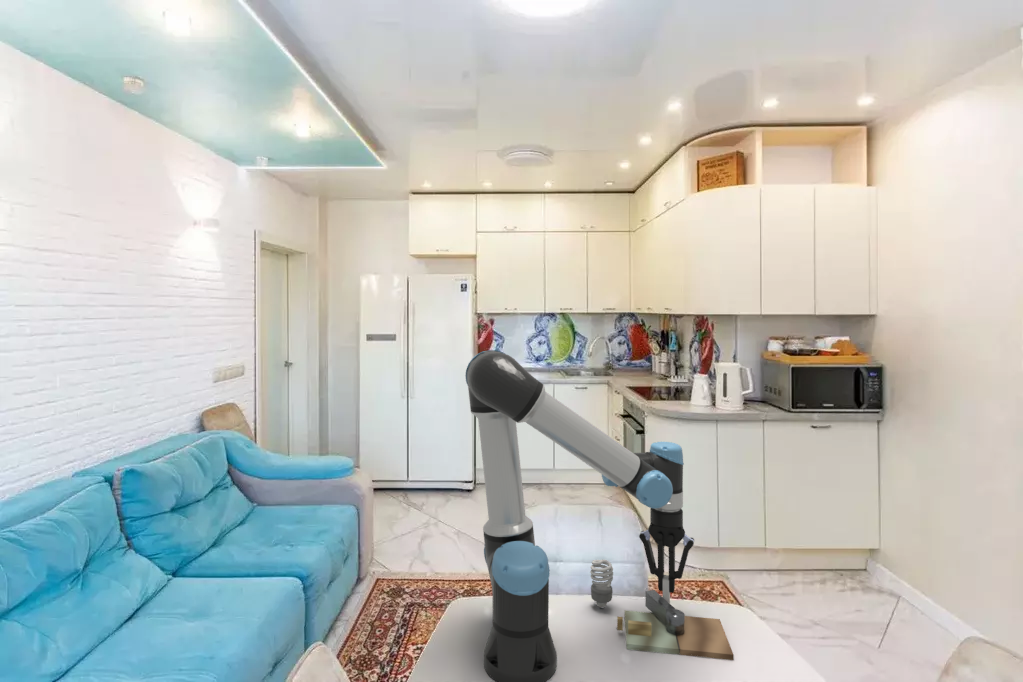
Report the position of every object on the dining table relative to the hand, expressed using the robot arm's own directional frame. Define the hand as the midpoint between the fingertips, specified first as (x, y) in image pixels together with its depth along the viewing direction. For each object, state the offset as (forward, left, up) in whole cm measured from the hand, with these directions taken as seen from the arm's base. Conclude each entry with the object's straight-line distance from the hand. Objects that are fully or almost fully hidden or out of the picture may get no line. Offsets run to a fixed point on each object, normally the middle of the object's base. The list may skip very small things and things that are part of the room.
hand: (666, 603), depth 130 cm
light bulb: (-15, +1, -3) cm, 16 cm away
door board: (+1, -8, -3) cm, 9 cm away
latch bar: (-1, -4, -2) cm, 5 cm away
